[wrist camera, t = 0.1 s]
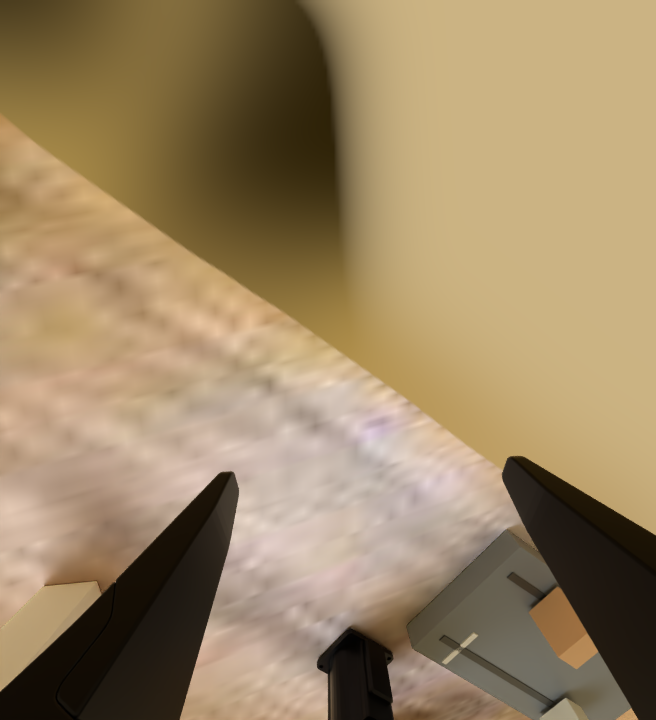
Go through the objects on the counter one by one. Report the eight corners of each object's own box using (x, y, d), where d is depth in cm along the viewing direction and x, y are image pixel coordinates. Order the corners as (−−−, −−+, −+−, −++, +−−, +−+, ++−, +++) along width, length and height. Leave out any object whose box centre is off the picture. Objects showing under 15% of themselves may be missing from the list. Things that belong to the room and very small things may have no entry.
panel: (564, 720, 33) (579, 748, 31) (406, 626, 30) (412, 649, 28) (665, 642, 31) (690, 666, 29) (506, 529, 28) (521, 547, 26)
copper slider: (544, 623, 27) (576, 669, 24) (528, 612, 27) (558, 657, 23) (574, 597, 26) (611, 641, 23) (557, 586, 26) (592, 628, 23)
